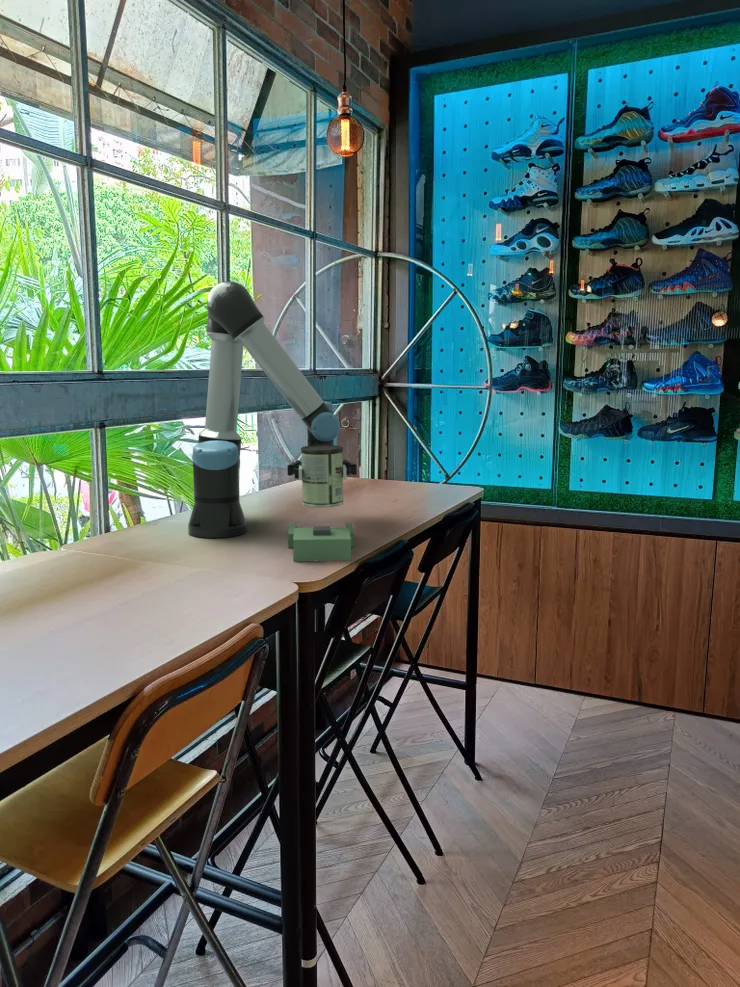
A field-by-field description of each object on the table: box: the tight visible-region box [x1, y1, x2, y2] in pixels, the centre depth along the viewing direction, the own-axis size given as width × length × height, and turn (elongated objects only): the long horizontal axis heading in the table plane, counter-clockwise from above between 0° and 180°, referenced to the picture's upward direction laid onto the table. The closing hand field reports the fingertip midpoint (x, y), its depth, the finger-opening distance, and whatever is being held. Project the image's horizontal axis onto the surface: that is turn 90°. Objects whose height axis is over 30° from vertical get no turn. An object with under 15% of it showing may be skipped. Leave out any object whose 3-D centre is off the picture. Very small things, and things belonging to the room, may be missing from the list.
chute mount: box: [287, 522, 356, 562], centre depth 178 cm, size 16×24×6 cm, turn 5°
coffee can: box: [300, 444, 344, 508], centre depth 182 cm, size 10×10×14 cm
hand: (322, 474), depth 178 cm, fingers closed on coffee can, 10 cm apart
